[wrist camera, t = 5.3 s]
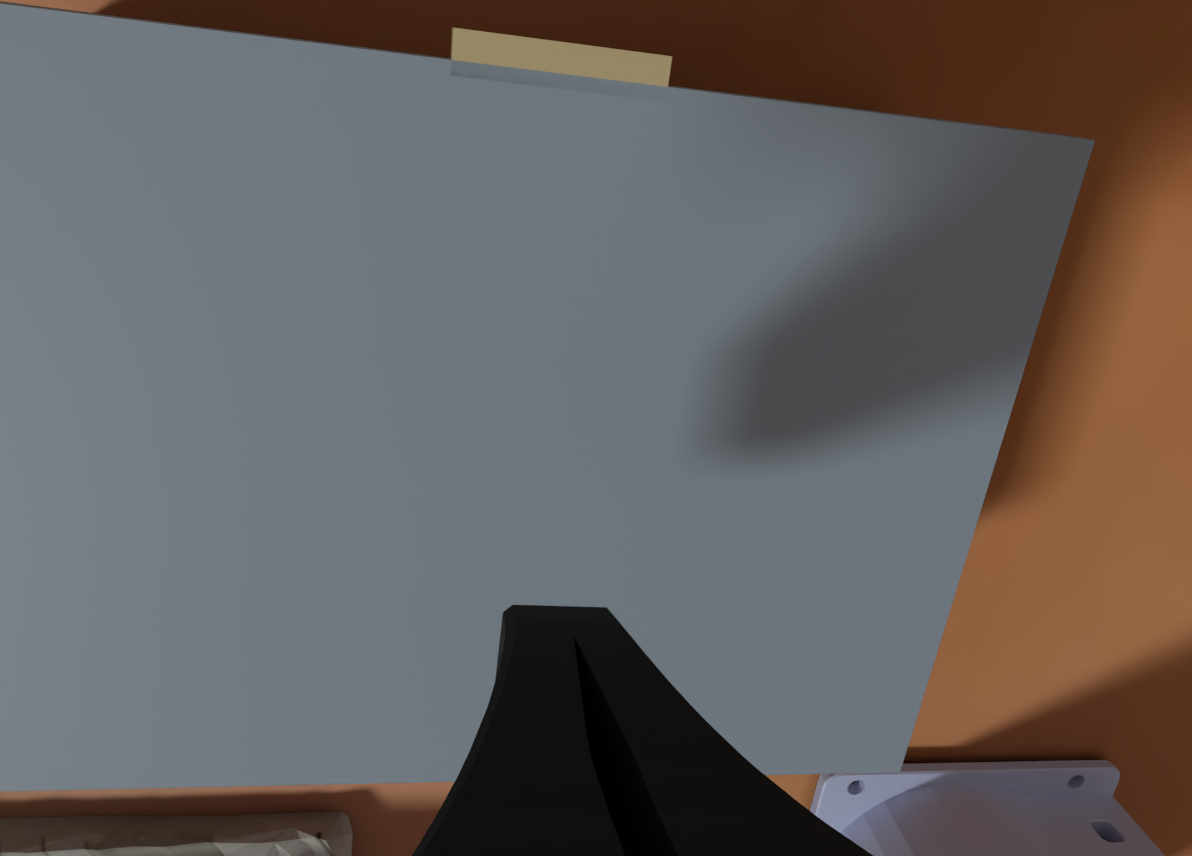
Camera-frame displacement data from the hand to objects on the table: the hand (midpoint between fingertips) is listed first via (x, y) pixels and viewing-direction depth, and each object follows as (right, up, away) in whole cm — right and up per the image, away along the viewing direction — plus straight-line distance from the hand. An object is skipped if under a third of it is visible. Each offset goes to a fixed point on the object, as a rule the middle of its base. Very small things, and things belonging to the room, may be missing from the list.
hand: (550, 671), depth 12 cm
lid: (-1, +3, +4) cm, 5 cm away
